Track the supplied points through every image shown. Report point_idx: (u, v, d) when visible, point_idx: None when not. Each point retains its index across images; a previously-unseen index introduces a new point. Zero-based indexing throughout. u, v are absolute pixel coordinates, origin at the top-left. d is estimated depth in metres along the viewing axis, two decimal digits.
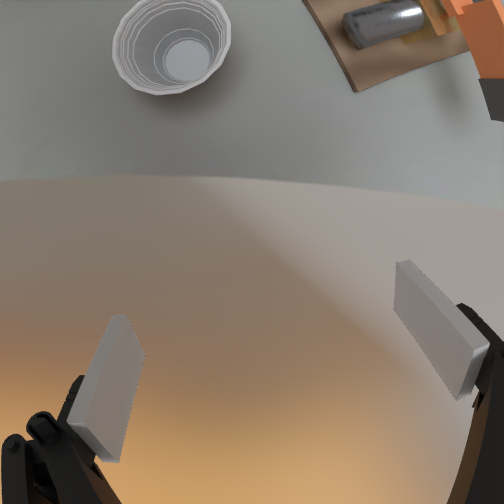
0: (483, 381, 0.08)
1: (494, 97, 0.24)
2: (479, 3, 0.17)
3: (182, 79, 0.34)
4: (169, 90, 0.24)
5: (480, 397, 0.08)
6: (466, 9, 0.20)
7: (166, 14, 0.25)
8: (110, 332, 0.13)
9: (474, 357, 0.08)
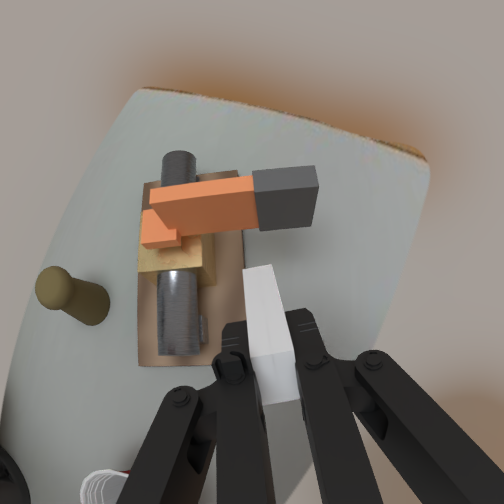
0: (299, 396, 0.10)
1: (281, 221, 0.30)
2: (159, 214, 0.27)
3: None
4: None
5: (305, 411, 0.10)
6: (170, 225, 0.29)
7: (106, 491, 0.26)
8: (250, 281, 0.15)
9: (277, 361, 0.11)
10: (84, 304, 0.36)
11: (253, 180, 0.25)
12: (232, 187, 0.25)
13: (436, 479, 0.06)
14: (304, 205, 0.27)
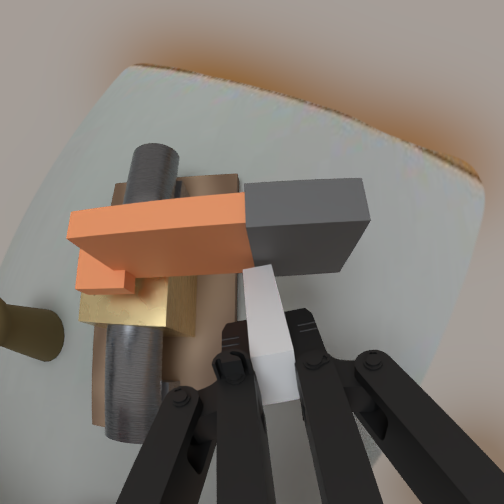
0: (299, 396, 0.10)
1: (294, 266, 0.18)
2: (90, 252, 0.15)
3: None
4: None
5: (305, 411, 0.10)
6: (114, 266, 0.18)
7: None
8: (250, 281, 0.15)
9: (277, 361, 0.11)
10: (27, 342, 0.25)
11: (245, 202, 0.13)
12: (205, 214, 0.13)
13: (436, 479, 0.06)
14: (336, 247, 0.15)
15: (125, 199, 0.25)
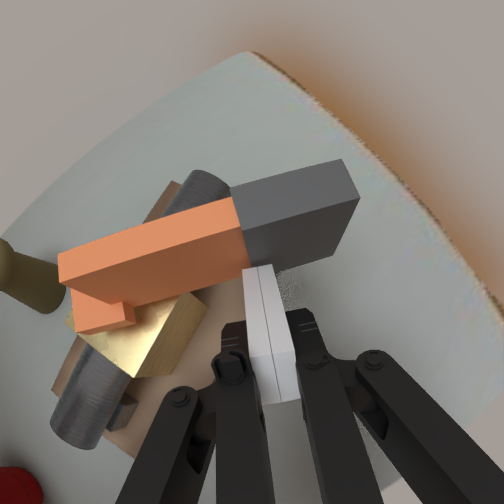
0: (300, 396, 0.10)
1: (290, 259, 0.18)
2: (85, 292, 0.15)
3: None
4: None
5: (305, 411, 0.10)
6: (111, 300, 0.17)
7: None
8: (250, 281, 0.15)
9: (278, 361, 0.11)
10: (23, 295, 0.26)
11: (235, 206, 0.13)
12: (197, 227, 0.13)
13: (436, 479, 0.06)
14: (329, 231, 0.15)
15: None
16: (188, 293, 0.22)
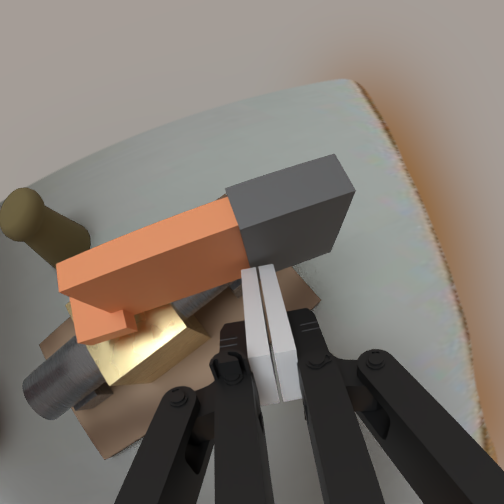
0: (302, 396, 0.10)
1: (288, 258, 0.18)
2: (85, 301, 0.14)
3: None
4: None
5: (307, 411, 0.10)
6: (112, 308, 0.17)
7: None
8: (248, 281, 0.15)
9: (279, 361, 0.11)
10: (42, 251, 0.28)
11: (232, 206, 0.13)
12: (195, 228, 0.13)
13: (437, 479, 0.06)
14: (326, 227, 0.16)
15: None
16: (190, 330, 0.21)
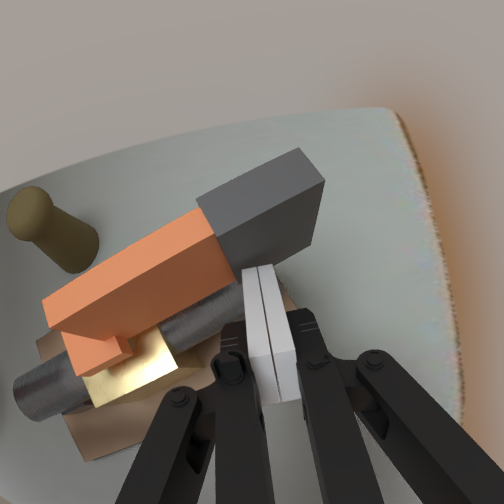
0: (301, 396, 0.10)
1: (269, 257, 0.18)
2: (76, 333, 0.14)
3: None
4: None
5: (306, 411, 0.10)
6: (104, 336, 0.16)
7: None
8: (249, 281, 0.15)
9: (278, 361, 0.11)
10: (47, 252, 0.28)
11: (205, 215, 0.13)
12: (173, 243, 0.13)
13: (437, 479, 0.06)
14: (301, 221, 0.16)
15: None
16: (181, 368, 0.20)
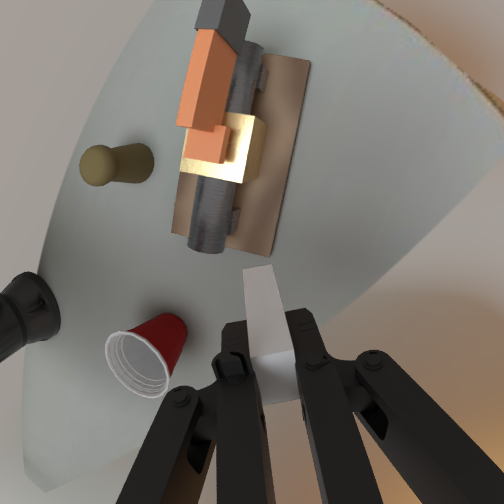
0: (299, 396, 0.10)
1: (240, 31, 0.25)
2: (201, 127, 0.26)
3: None
4: (162, 391, 0.40)
5: (305, 411, 0.10)
6: (211, 127, 0.28)
7: (125, 338, 0.44)
8: (250, 281, 0.15)
9: (277, 361, 0.11)
10: (127, 175, 0.40)
11: (204, 28, 0.21)
12: (204, 46, 0.22)
13: (436, 479, 0.06)
14: (237, 4, 0.22)
15: None
16: (257, 118, 0.32)
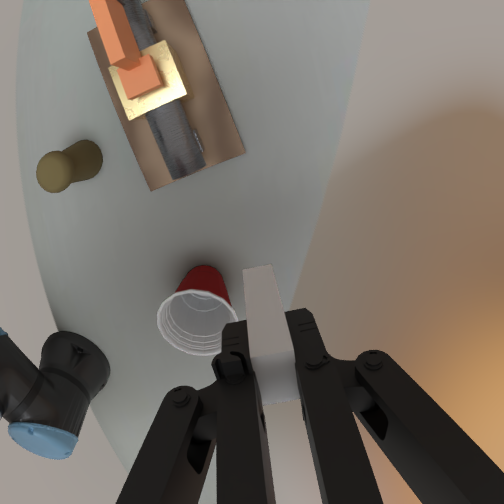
0: (299, 396, 0.10)
1: None
2: (131, 58, 0.24)
3: None
4: None
5: (305, 411, 0.10)
6: (137, 60, 0.26)
7: (172, 311, 0.44)
8: (250, 281, 0.15)
9: (277, 361, 0.11)
10: (84, 167, 0.37)
11: None
12: (99, 0, 0.19)
13: (436, 479, 0.06)
14: None
15: None
16: (167, 42, 0.29)
